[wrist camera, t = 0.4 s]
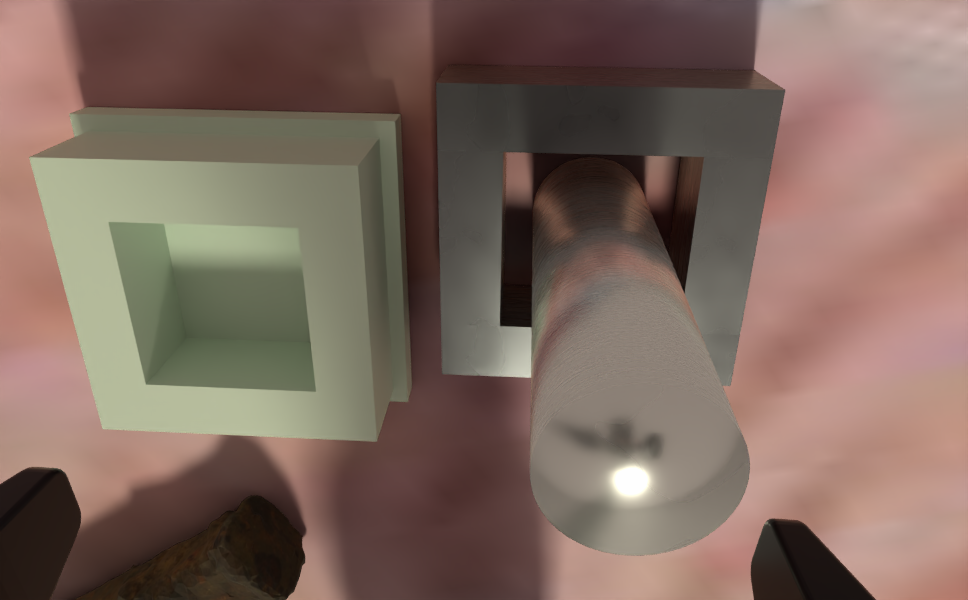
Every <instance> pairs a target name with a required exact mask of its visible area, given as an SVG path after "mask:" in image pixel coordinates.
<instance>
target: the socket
mask: <svg viewBox="0 0 968 600" xmlns="http://www.w3.org/2000/svg"><path fill="white" fill-rule="evenodd" d="M784 94H785V89H783V88H782V87H780V86H778V85H777V84H775V83H774V82H772V81H771V80H769V79H767V78H766V77H764V76H763V75H761V74H760V73H758V72H756V71H755V70H712V69H659V68H605V67H551V66H498V65H448V66H447V67H446V69H445V70H444V72H443V73H442V75H441V76H440V78H439V79H438V81H437V82H436V98H437V148H438V198H439V248H440V297H441V347H442V374H452V375H477V376H501V377H526V378H531V337H532V285H506V284H504V246H505V201H506V156H507V152H526V153H566V154H606V155H646V156H681V159H680V167H679V175H678V183H677V190H676V198H675V206H674V214H673V221H672V229H671V237H670V245H669V252H668V255H669V257H670V260H671V262H672V264H673V267H674V269H675V272H676V274H677V277H678V279H679V281H680V284H681V286H682V289H683V291H684V294H685V296H686V299H687V301H688V303H689V306H690V308H691V311H692V313H693V316H694V318H695V321H696V323H697V325H698V328H699V330H700V333H701V335H702V338H703V340H704V343H705V345H706V347H707V350H708V352H709V355H710V357H711V360H712V362H713V365H714V367H715V369H716V372H717V374H718V377H719V379H720V382H721V384H722V386H730V385H731V380H732V374H733V369H734V364H735V358H736V353H737V347H738V342H739V337H740V331H741V326H742V320H743V315H744V310H745V304H746V299H747V293H748V288H749V283H750V277H751V272H752V266H753V261H754V256H755V250H756V245H757V239H758V234H759V229H760V223H761V218H762V212H763V207H764V202H765V196H766V191H767V185H768V180H769V175H770V169H771V164H772V159H773V153H774V148H775V142H776V137H777V132H778V126H779V121H780V115H781V110H782V105H783V99H784Z"/></svg>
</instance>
